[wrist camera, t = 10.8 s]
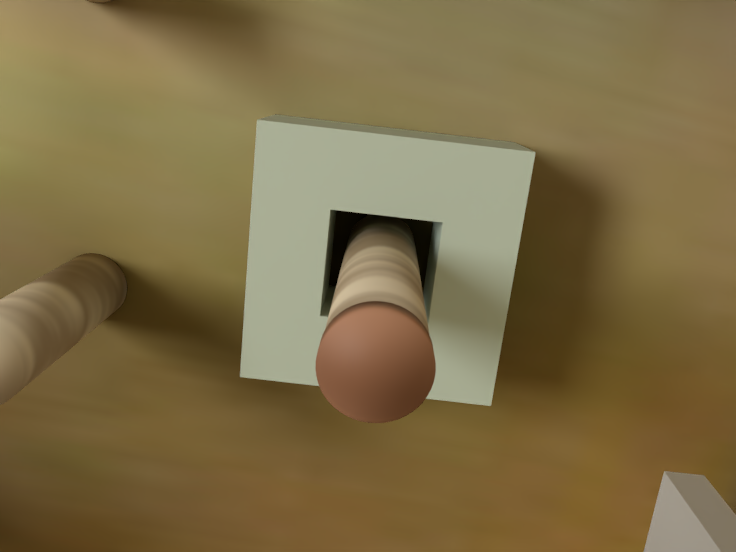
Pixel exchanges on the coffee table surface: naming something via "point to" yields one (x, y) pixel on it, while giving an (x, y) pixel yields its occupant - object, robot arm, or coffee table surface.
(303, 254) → the collar block
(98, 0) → the pin short
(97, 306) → the pin medium
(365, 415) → the pin long
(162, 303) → the coffee table surface
